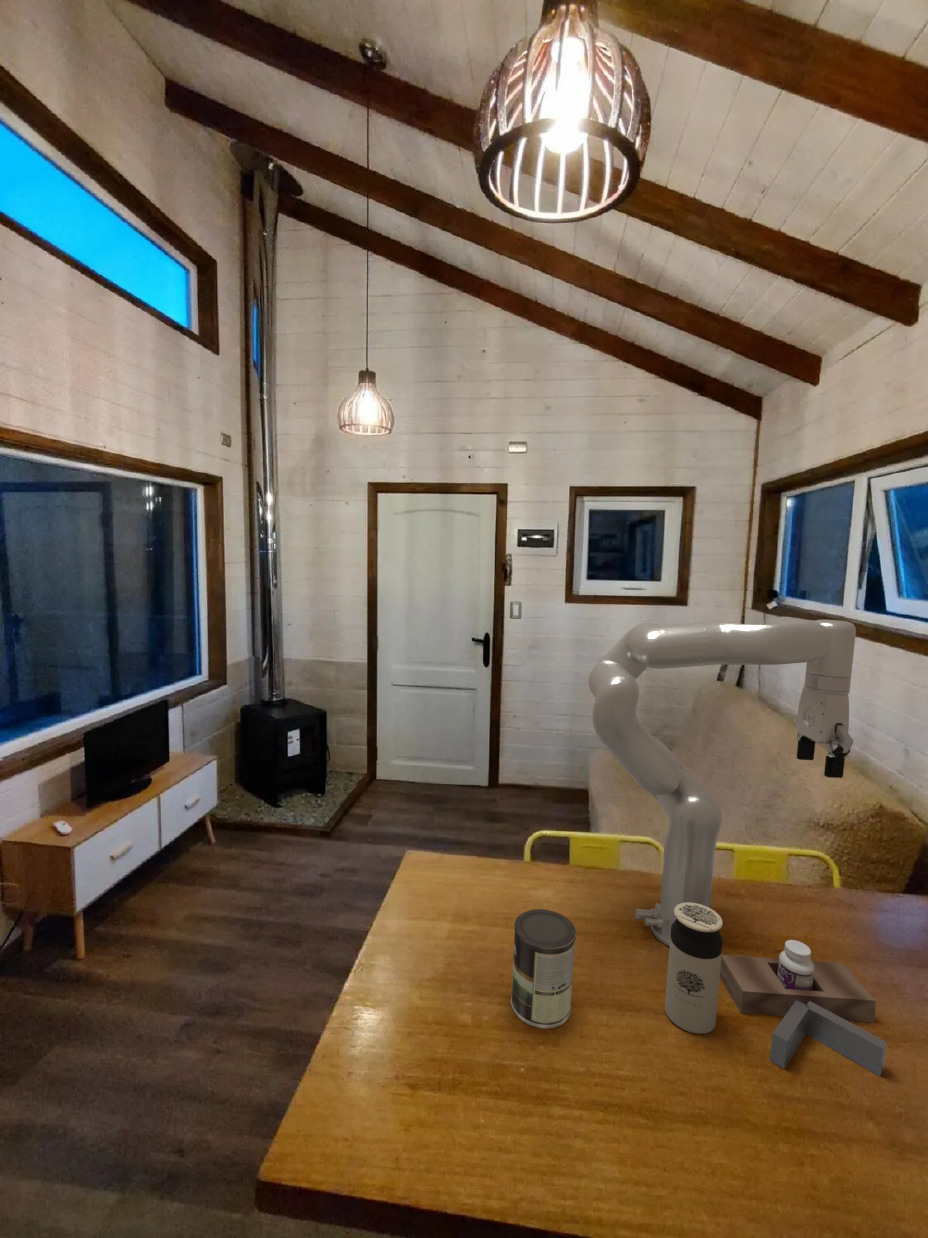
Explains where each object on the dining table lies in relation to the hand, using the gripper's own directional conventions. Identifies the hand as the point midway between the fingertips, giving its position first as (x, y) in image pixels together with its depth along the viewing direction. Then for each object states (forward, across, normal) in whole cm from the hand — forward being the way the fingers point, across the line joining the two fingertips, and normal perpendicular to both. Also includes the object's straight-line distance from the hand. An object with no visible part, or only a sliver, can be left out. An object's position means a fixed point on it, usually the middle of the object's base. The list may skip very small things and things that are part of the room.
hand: (818, 768), depth 112 cm
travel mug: (+37, +22, -30) cm, 52 cm away
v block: (+37, +27, -12) cm, 47 cm away
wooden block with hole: (+37, +16, -10) cm, 41 cm away
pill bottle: (+37, +16, -10) cm, 42 cm away
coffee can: (+37, +22, -55) cm, 70 cm away
